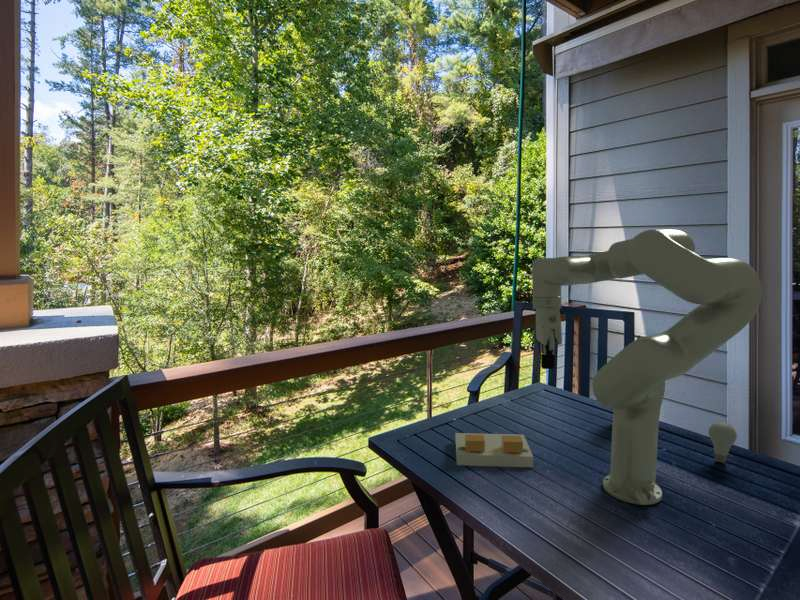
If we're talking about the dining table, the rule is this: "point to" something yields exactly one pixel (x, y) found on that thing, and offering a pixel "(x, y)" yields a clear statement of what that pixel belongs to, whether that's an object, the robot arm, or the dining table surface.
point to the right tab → (512, 444)
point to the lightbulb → (722, 439)
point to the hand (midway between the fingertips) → (547, 368)
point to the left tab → (475, 443)
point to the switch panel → (492, 452)
